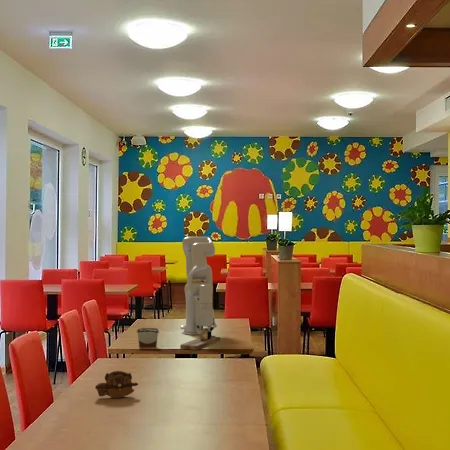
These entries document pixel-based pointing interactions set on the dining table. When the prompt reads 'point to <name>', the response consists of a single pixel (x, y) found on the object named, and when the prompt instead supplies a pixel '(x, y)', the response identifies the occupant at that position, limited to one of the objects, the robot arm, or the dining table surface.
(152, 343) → the food container
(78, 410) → the dining table surface
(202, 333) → the beige rectangular block
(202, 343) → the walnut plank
